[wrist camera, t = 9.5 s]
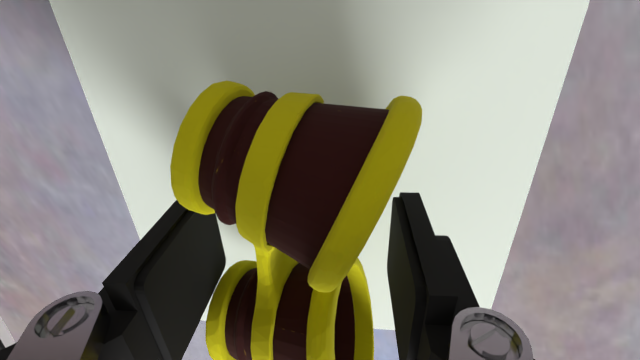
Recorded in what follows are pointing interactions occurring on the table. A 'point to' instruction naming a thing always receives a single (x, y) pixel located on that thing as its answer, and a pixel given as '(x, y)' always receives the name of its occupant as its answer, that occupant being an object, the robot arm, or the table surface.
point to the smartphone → (5, 336)
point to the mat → (341, 99)
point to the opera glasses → (292, 214)
